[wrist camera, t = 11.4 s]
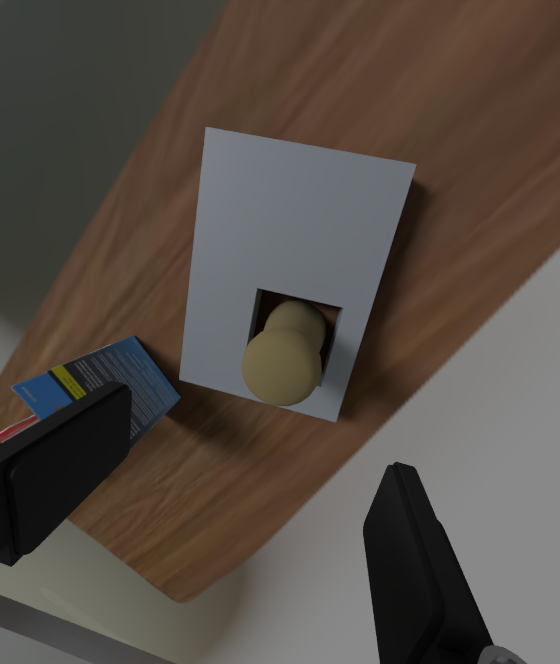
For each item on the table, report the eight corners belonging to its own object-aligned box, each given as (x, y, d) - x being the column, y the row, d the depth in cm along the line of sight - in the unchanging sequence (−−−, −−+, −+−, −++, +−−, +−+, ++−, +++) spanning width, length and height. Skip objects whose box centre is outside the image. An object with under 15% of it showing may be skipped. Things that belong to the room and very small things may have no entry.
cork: (258, 308, 26) (215, 340, 16) (318, 293, 25) (315, 317, 14) (274, 364, 28) (244, 428, 17) (332, 352, 26) (338, 414, 16)
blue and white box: (111, 350, 30) (-23, 409, 18) (135, 333, 29) (8, 383, 17) (159, 412, 31) (62, 503, 20) (183, 397, 30) (95, 485, 19)
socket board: (406, 174, 21) (416, 164, 19) (334, 408, 28) (335, 422, 25) (218, 140, 23) (205, 126, 21) (190, 369, 29) (179, 379, 27)
